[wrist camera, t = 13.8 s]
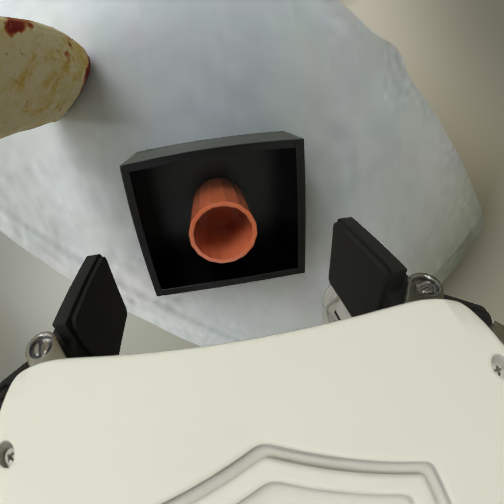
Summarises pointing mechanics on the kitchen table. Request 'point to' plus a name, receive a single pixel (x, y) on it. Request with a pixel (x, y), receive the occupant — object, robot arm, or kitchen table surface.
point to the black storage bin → (180, 199)
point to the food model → (37, 74)
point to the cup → (221, 222)
